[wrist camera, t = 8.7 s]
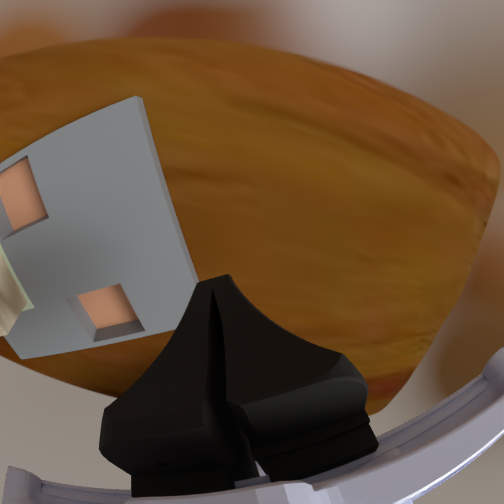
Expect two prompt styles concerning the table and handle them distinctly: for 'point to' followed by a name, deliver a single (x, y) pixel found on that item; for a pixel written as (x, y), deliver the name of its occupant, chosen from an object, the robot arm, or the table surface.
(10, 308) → the beech block
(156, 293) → the board
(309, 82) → the table surface
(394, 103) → the table surface
